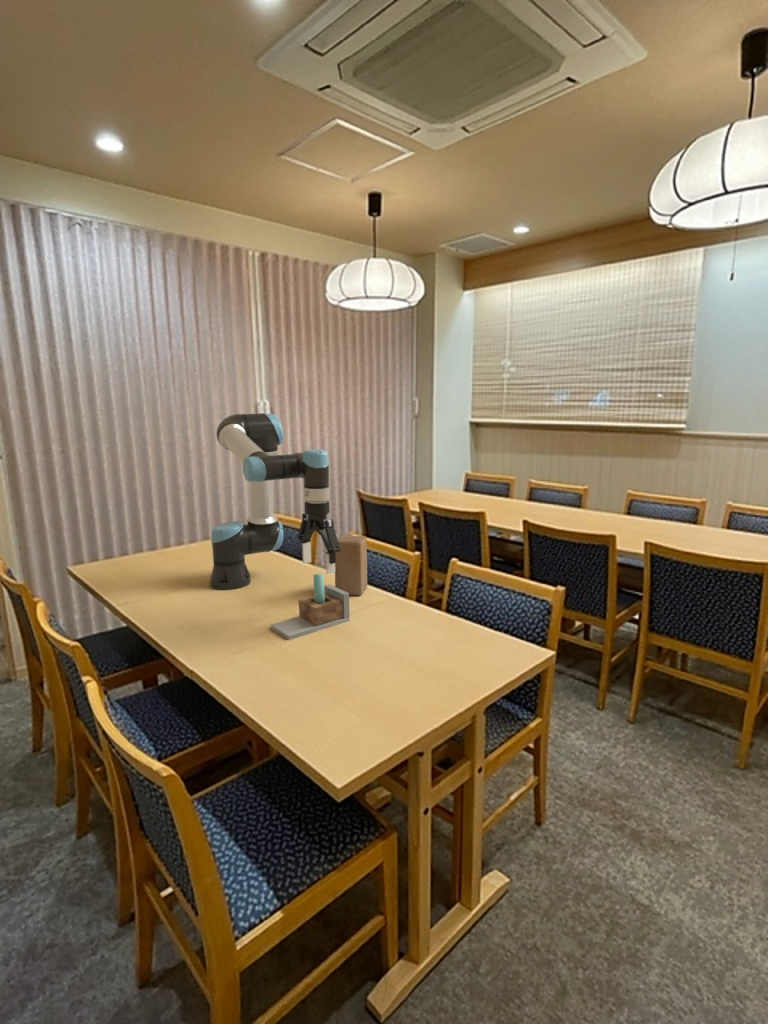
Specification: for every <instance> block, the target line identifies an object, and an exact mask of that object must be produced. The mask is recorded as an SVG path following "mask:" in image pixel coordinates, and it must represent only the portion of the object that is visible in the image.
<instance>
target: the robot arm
mask: <svg viewBox="0 0 768 1024" xmlns="http://www.w3.org/2000/svg"><path fill="white" fill-rule="evenodd" d="M215 433H216V439H217V442H218V443H219V445H220V446H221V447H222V448H223V449H225V450H227V451H230V452H231V453H232V454H233V455H234V456H235V457H236V459H237V460H239V462H240V463H242V473H243V476H244V479H245V480H246V481H247V482H250V510H251V511H250V512H251V513H250V515H249V516H248V517H247V520H246V522H247V524H243V522H241V521H239V520H238V521H236V520H235V521H228V522H224V523H223V522H222V523H220V524H218V525H216V526H214V527H213V528H212V530H211V541H210V542H211V546H212V547H211V548H212V559H213V560H212V561H213V567H212V571H211V574H210V577H209V585H210V587H211V588H213V589H216V590H234V589H235V590H236V589H239V588H244V587H246V586H248V585H249V584H251V581H252V580H251V579H252V578H251V573H250V572H249V569H248V567H247V564H246V558H245V556H248V555H254V554H259V553H260V554H261V553H269V552H271V551H277V550H278V549H280V547H281V546H282V543H283V541H284V530H283V524H282V522H281V521H279V518H278V516H276V515H275V509H274V508H275V502H274V500H275V496H274V495H275V493H274V489H275V488H274V487H275V485H274V484H275V481H277V480H278V481H279V480H290V479H291V480H292V479H303V488H304V489H303V491H304V492H303V495H304V501H305V502H304V512H303V513H302V514H301V515H302V516H301V522H300V523H301V524H300V525H299V526H300V527H299V531H298V535H297V540H298V541H299V540H300V543H301V549H302V551H301V552H302V564H304V565H305V564H308V563H312V551H311V550H312V542H311V539H312V536H313V534H314V532H317V534H318V535H320V538H321V539H322V542H323V543H324V548H325V549H326V551H327V552H325V559H326V562H325V564H326V575H331V574H335V562H336V559H335V558H336V555H335V554H336V552H339V551H340V547H339V543H338V540H337V539H338V537H337V534H336V529H335V527H334V526H335V525H334V519H331V518H330V519H328V518H327V515H329V513H330V501H329V500H330V485H329V484H330V479H329V478H330V473H329V472H330V471H329V470H330V466H329V465H330V461H329V452H328V450H326V449H306V450H304V451H303V452H293V453H291V454H277V455H276V453H277V452H278V451H279V450H278V449H279V447H278V446H280V445H282V444H283V442H284V437H285V436H284V429H283V426H282V422H281V420H280V418H279V417H278V416H277V415H276V414H274V413H265V412H263V413H242V414H241V413H236V414H231V415H229V416H227V417H225V418H224V419H223V420H222V421H220V423H219V424H218V426H217V428H216V432H215Z"/></svg>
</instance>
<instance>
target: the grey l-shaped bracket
mask: <svg viewBox="0 0 768 1024" xmlns="http://www.w3.org/2000/svg"><path fill="white" fill-rule="evenodd" d="M324 593H327V594H329V595H331V596H333V597H336V598H338V599H340V600H342V601H343V618H340V619H336V620H333V621H330V622H327V623H323V624H320V625H317V626H316V625H314V624H313V623H311V622H309V621H307V620H305V619H304V618H302V617H300V616H299V615H298V616H296V617H293V618H289V619H285V620H283V621H279V622H275V623H272V624H270V629H271V630H273V631H274V632H275V633H277V634H279V635H280V636H282V637H284V638H285V639H287V640H288V641H290V640H293V639H296V638H300V637H302V636H305V635H308V634H311V633H315V632H317V631H322V630H324V629H327V628H331V627H334V626H336V625H340V624H343V623H346V622H349V621H350V620H351V619H350V615H351V614H350V595H349V593H348V592H345V591H343V590H341V589H338V588H336V587H335V586H333V585H331V584H325V585H324Z"/></svg>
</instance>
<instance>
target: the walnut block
mask: <svg viewBox="0 0 768 1024" xmlns="http://www.w3.org/2000/svg"><path fill="white" fill-rule="evenodd" d="M299 616H300V617H302V618H304V619H305V620H307V621H309V622H311V623H313V624H314V625H316V626H317V625H320V624H323V623H327V622H330V621H333V620H336V619H340V618H343V601H342V600H340V599H338V598H336V597H333V596H331V595H329V594H327V593H325V603H321V604H317V603H315V598H314V595H311V596H307V597H304V598H301V599H298V617H299Z"/></svg>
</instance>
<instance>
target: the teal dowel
mask: <svg viewBox="0 0 768 1024" xmlns="http://www.w3.org/2000/svg"><path fill="white" fill-rule="evenodd" d="M312 577H313V594H314V595H313V596H314V598H315V603H317V604H321V603H325V593H324V586H325V575H324V573H316V574H313V576H312Z"/></svg>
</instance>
